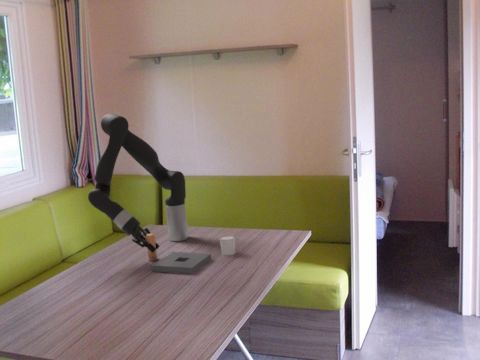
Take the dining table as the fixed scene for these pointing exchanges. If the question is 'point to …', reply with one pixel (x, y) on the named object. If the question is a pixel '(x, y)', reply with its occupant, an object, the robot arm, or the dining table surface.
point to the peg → (151, 239)
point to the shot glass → (227, 245)
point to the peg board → (181, 262)
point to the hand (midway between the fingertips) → (156, 249)
